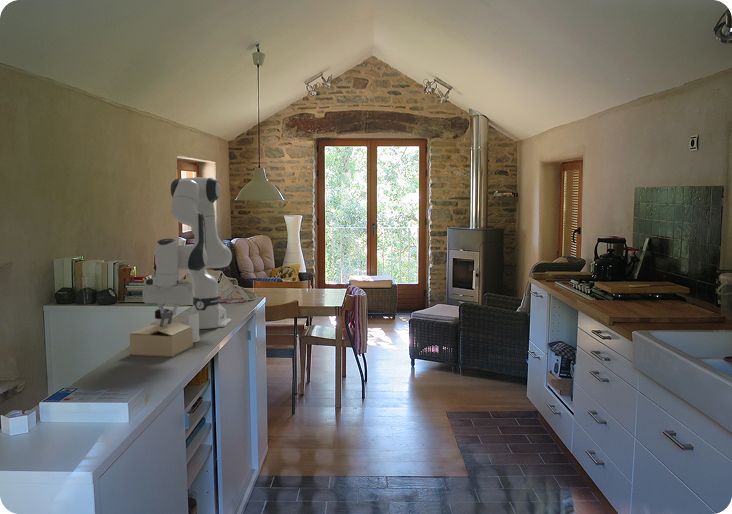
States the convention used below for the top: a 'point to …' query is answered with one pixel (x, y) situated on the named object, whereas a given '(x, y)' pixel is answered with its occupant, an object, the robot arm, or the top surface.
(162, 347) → the carton
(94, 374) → the top surface
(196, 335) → the mug
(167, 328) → the near flap
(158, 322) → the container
